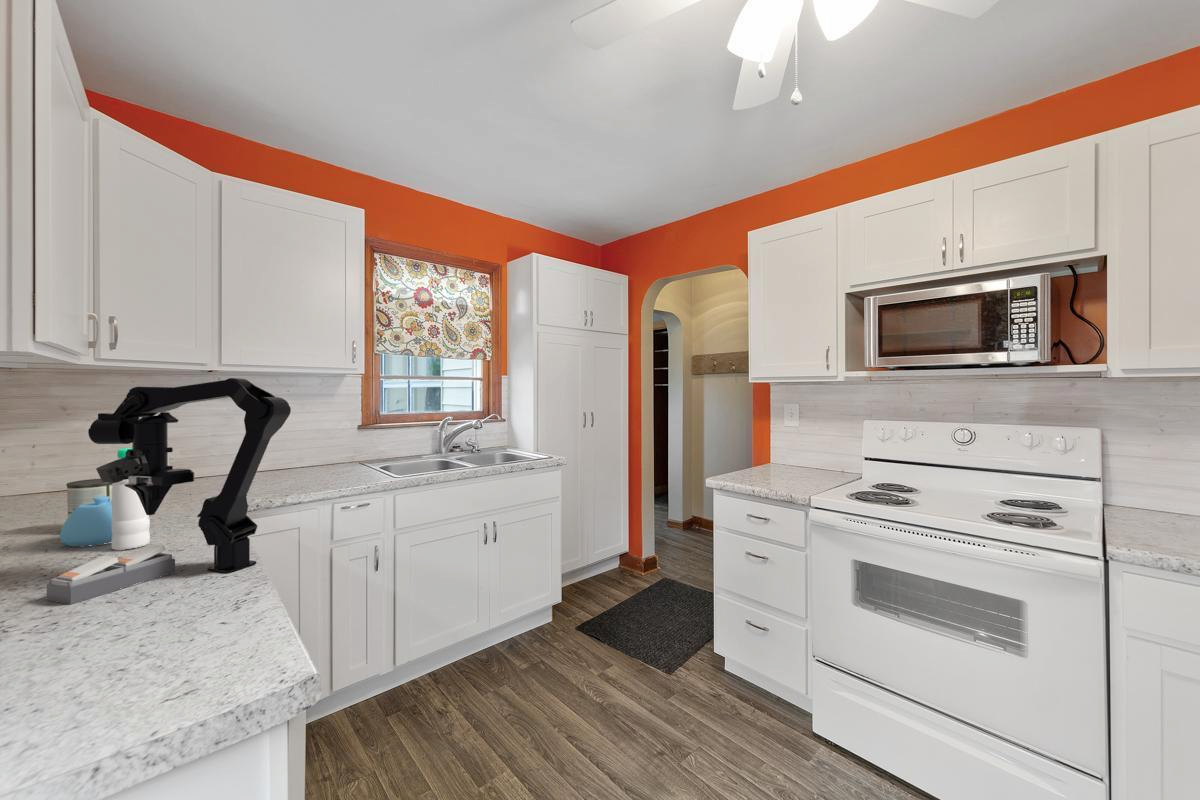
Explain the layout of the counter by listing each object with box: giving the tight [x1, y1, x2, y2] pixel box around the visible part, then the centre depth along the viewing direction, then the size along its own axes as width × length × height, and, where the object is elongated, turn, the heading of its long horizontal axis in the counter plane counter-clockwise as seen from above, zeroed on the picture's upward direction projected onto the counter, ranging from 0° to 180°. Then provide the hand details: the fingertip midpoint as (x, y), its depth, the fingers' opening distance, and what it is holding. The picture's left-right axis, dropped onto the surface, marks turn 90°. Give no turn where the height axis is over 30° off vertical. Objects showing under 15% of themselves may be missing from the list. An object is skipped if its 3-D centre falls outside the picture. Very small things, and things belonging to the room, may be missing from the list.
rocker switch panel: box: [46, 552, 176, 605], centre depth 99 cm, size 7×17×4 cm, turn 163°
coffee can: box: [66, 478, 113, 518], centre depth 141 cm, size 10×10×14 cm
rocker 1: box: [57, 555, 119, 581], centre depth 95 cm, size 4×7×1 cm, turn 163°
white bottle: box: [111, 447, 151, 551], centre depth 124 cm, size 7×7×25 cm
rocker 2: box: [113, 543, 166, 567], centre depth 103 cm, size 4×7×1 cm, turn 163°
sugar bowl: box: [59, 496, 113, 547], centre depth 131 cm, size 15×15×12 cm
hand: (150, 514), depth 108 cm, fingers closed
